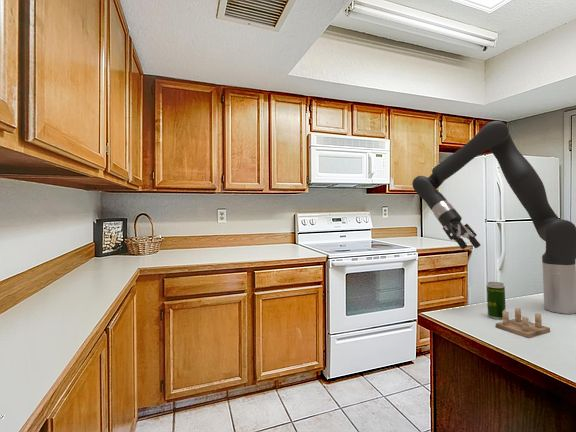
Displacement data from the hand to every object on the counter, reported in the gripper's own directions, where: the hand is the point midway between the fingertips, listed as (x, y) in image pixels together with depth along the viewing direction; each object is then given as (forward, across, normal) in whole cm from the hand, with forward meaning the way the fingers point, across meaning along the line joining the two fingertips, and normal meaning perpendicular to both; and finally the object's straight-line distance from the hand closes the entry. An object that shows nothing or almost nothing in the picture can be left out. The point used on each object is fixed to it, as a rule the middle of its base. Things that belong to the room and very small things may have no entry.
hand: (471, 247), depth 118 cm
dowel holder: (+30, -5, +1) cm, 31 cm away
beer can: (+24, +1, +9) cm, 26 cm away
